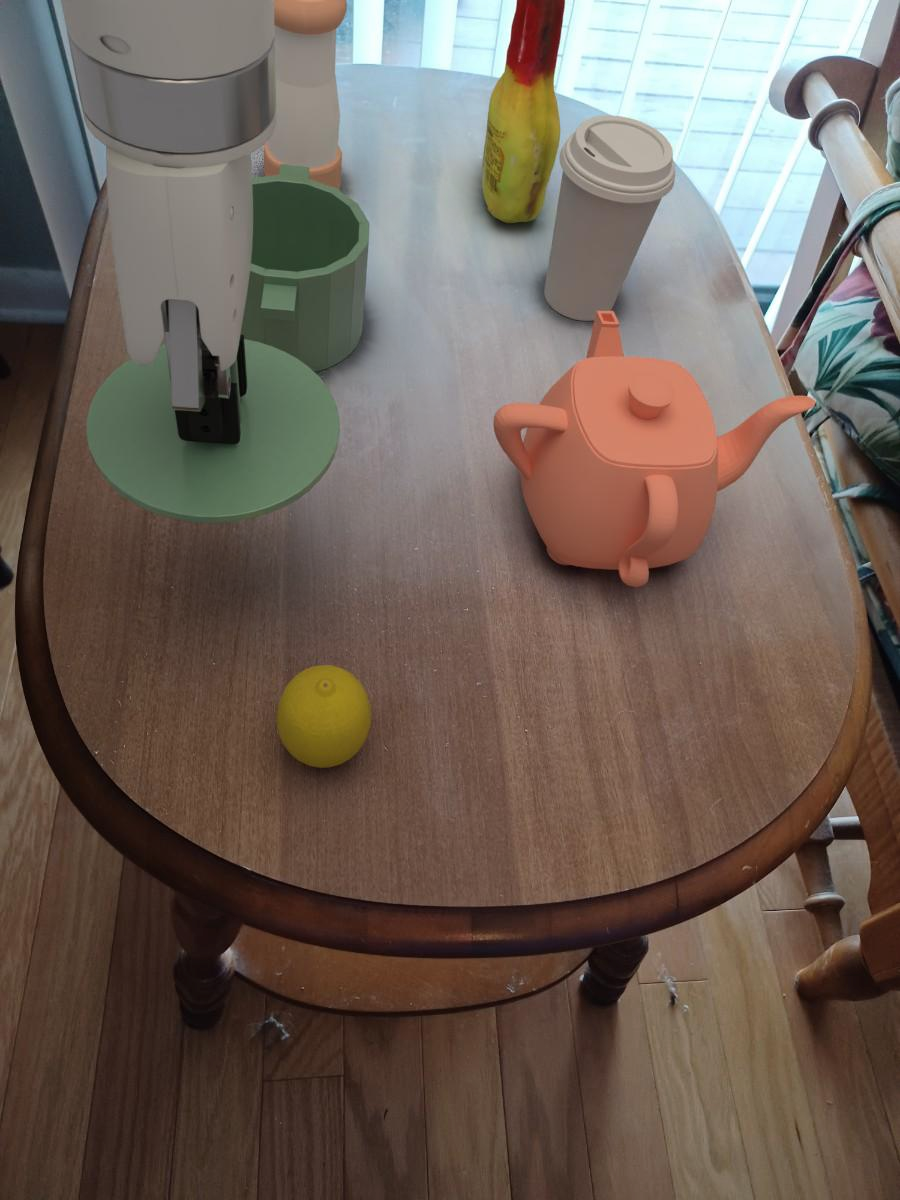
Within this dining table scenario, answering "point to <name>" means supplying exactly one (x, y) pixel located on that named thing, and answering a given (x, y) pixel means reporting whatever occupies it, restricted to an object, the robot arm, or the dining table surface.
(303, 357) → the pot
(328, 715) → the lemon
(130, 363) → the pot lid
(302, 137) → the salt shaker
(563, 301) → the coffee cup
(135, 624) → the dining table surface
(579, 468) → the teapot
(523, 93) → the bottle
